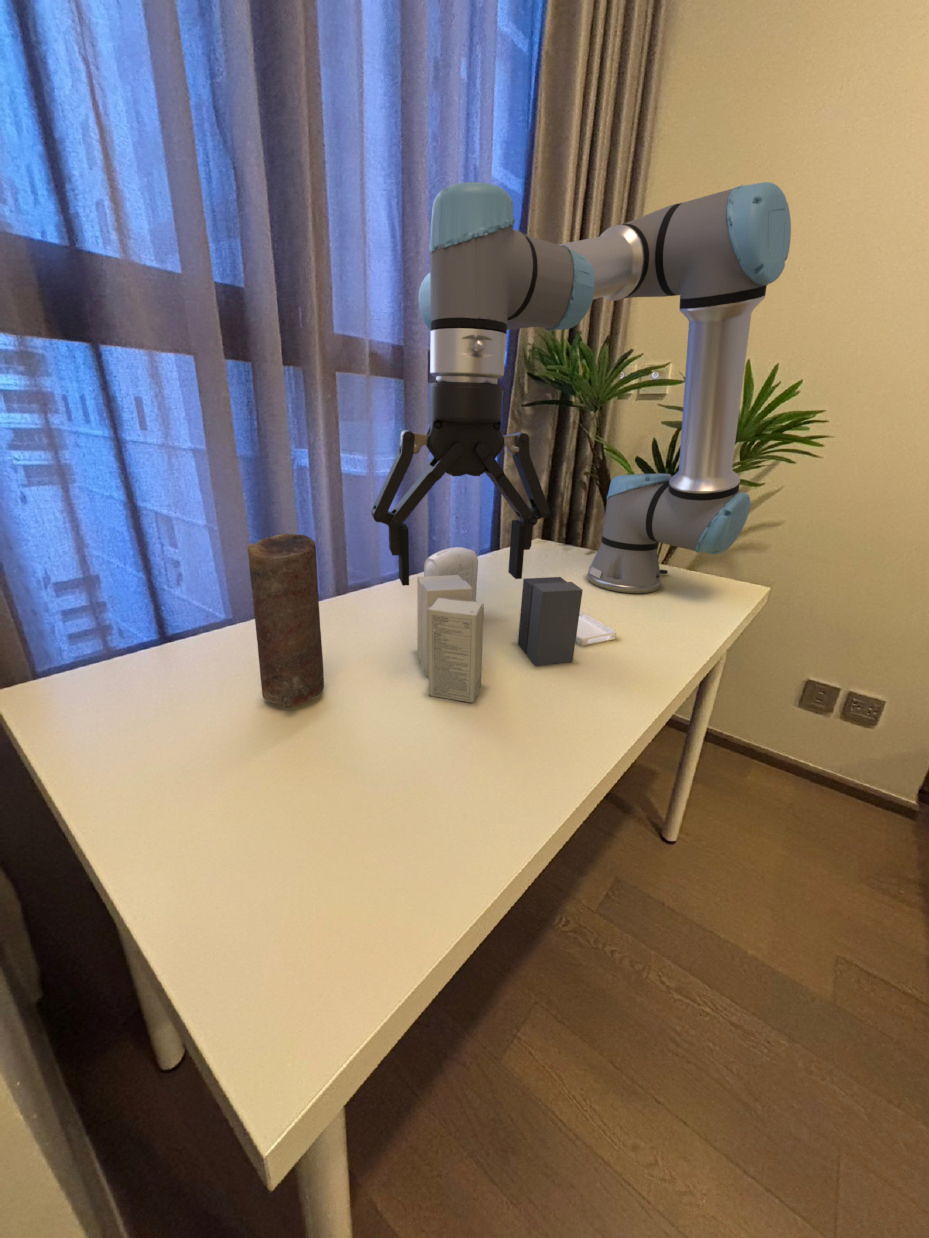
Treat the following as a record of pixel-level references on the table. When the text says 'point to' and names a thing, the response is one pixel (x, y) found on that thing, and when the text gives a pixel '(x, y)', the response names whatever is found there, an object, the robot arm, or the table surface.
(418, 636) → the white rectangular block
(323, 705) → the table surface
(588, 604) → the table surface
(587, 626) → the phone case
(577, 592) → the dark grey upright block
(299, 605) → the candle
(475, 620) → the cosmetic box
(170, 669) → the table surface
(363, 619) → the table surface
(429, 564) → the photo printer
